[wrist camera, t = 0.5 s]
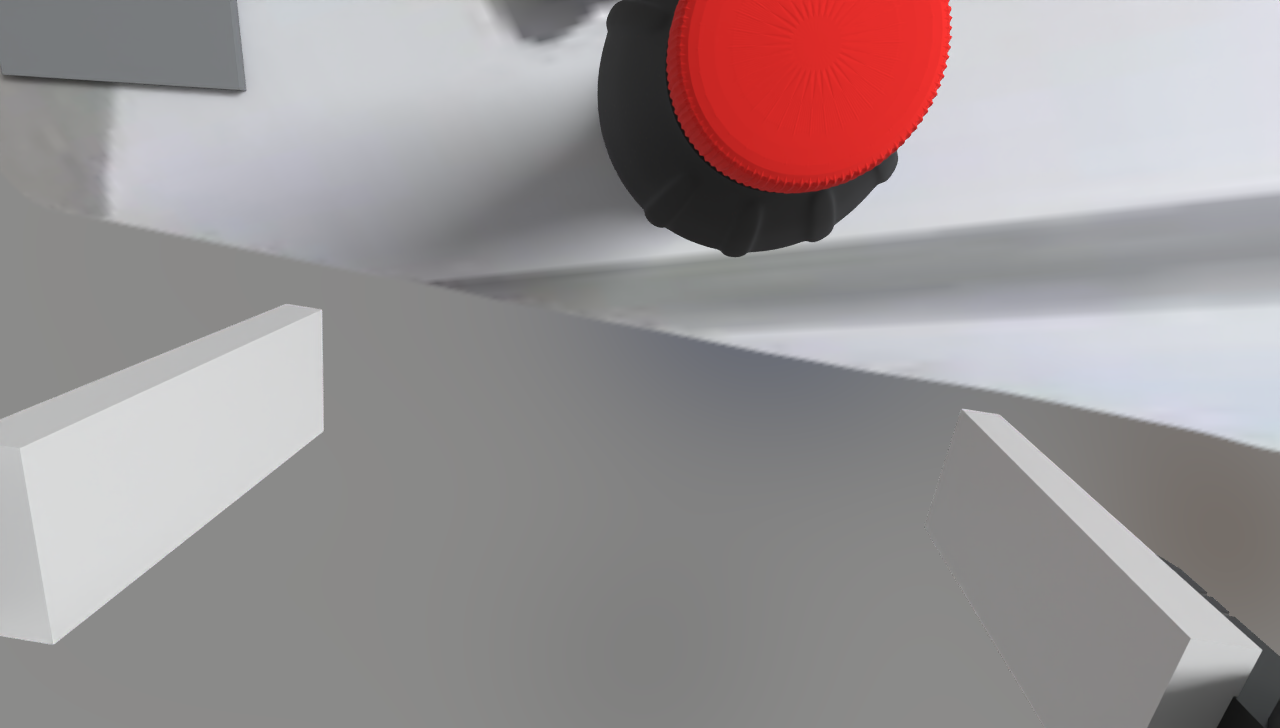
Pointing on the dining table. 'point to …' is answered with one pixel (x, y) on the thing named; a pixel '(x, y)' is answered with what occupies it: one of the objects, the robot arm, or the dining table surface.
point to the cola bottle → (764, 109)
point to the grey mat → (124, 41)
